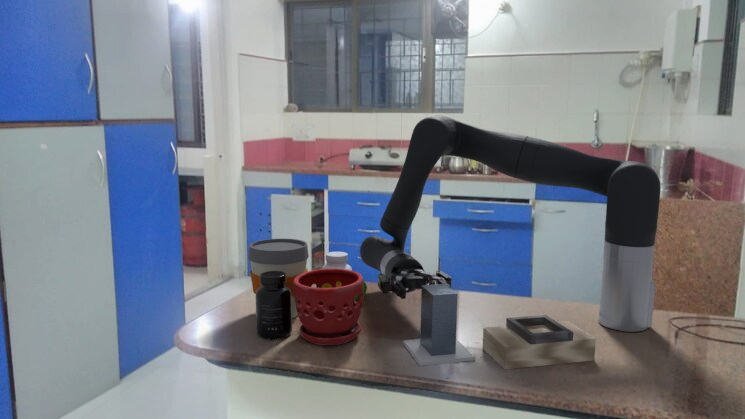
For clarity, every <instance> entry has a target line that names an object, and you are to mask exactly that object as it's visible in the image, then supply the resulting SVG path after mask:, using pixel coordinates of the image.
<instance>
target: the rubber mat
mask: <svg viewBox="0 0 745 419" xmlns="http://www.w3.org/2000/svg"><path fill="white" fill-rule="evenodd" d="M402 343H403V345H404V346H405V348H406V349H407V351H408V352H409V353H410V354H411V356H412V357H413V358H414V360H415V361H416V363H417V364H418V365H419V366H430V365H431V366H432V365H440V364H451V363H452V364H453V363H462V362H473V361H475V360H476V357H475V355H473V353H471V351H469V350H468V348H466V347H465V346H464V344H463V343H461V342H460V340H458V338H456V354H448V355H438V356H431V355H430V354H429V353H428V352H427V350H426V349H425V348H424V347H423V346H422V345H421V343H420V338H415V339H404V340H403V339H402Z"/></svg>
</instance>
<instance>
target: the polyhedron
mask: <svg viewBox="0 0 745 419" xmlns="http://www.w3.org/2000/svg"><path fill="white" fill-rule="evenodd" d="M363 286H364V295H363V298H364V297H365V296H366V295H367V294H366V293H367V289H368V286H367V283H366V282H365V281H364V280H363ZM355 301H358V295H357V296H356V297H355Z"/></svg>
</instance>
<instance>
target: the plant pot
mask: <svg viewBox="0 0 745 419" xmlns="http://www.w3.org/2000/svg"><path fill="white" fill-rule="evenodd" d="M337 281H340V282H341V283H342V286H341V287H337V286H336V282H337ZM363 281H364V277H363V276H362V274H361V273H359V272H358V271H354V270H352V271H351V270H346V269H322V268H319V269H314V270H309V271H308V272H305V273H302V274H300V275H298V276H297V277H296V278H295V279H294V281H293V285H294V298H295V303H296V310H297V314H298V316H297V317H298V319H299V321H300V323H301V326H300V327H299V332H300V334H301V336H302V338H303V339H304V340H306V341H308V342H309V343H312V344H315V345H320V346H336V345H344V344H346V343H348V342H351V341H353V340H354V339H355V338H356V337H358V335H360V333H361V330H362V329H361V324H360V323H359V322H358V321H359V319H360V317H361V315H362V314H361V313H362V310H363V306H364V305H363V304H364V297H363V295H364V286H363ZM325 283H329V284H330V285H331V286H332V288H322V285H323V284H325ZM313 285H315V287H313ZM357 295H358V300H355V297H356V296H357Z"/></svg>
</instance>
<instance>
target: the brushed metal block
mask: <svg viewBox="0 0 745 419" xmlns="http://www.w3.org/2000/svg"><path fill="white" fill-rule="evenodd" d="M420 291H421V293H420V297H421V299H420V337H419V339H420V343H421V345H422V346H423V347H424V348H425V349H426V350H427V352H428V353H429V354H430V355H431V356H438V355H448V354H456V339H457V326H458V325H457V322H458V320H457V319H458V292H456V291H455V290H454V289H452V287H451V288H450V287H448V286H447V285H446V284H436V283H435V285H429V284H427V285H422V288H421V289H420Z"/></svg>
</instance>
